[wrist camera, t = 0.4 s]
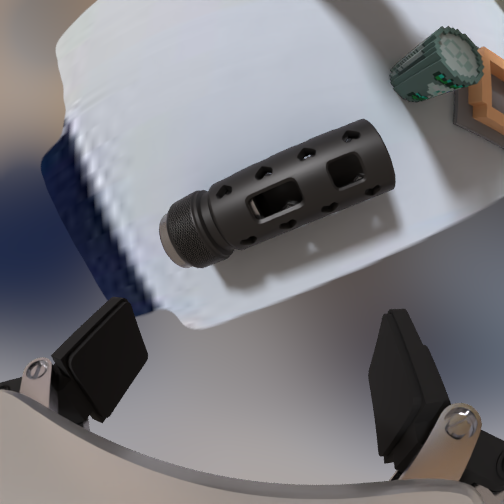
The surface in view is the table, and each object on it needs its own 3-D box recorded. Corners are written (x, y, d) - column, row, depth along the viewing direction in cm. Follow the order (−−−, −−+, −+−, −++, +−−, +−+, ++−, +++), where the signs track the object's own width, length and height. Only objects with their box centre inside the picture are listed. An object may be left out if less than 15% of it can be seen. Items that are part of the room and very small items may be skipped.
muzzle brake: (379, 184, 34) (405, 198, 24) (207, 255, 43) (181, 286, 33) (353, 120, 31) (371, 111, 22) (179, 201, 40) (143, 219, 31)
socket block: (452, 36, 21) (466, 27, 17) (517, 77, 19) (533, 74, 15) (453, 123, 28) (471, 122, 23) (517, 157, 26) (535, 160, 21)
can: (413, 109, 29) (468, 94, 15) (382, 78, 28) (424, 44, 14) (434, 85, 26) (491, 64, 12) (404, 55, 26) (449, 18, 12)
